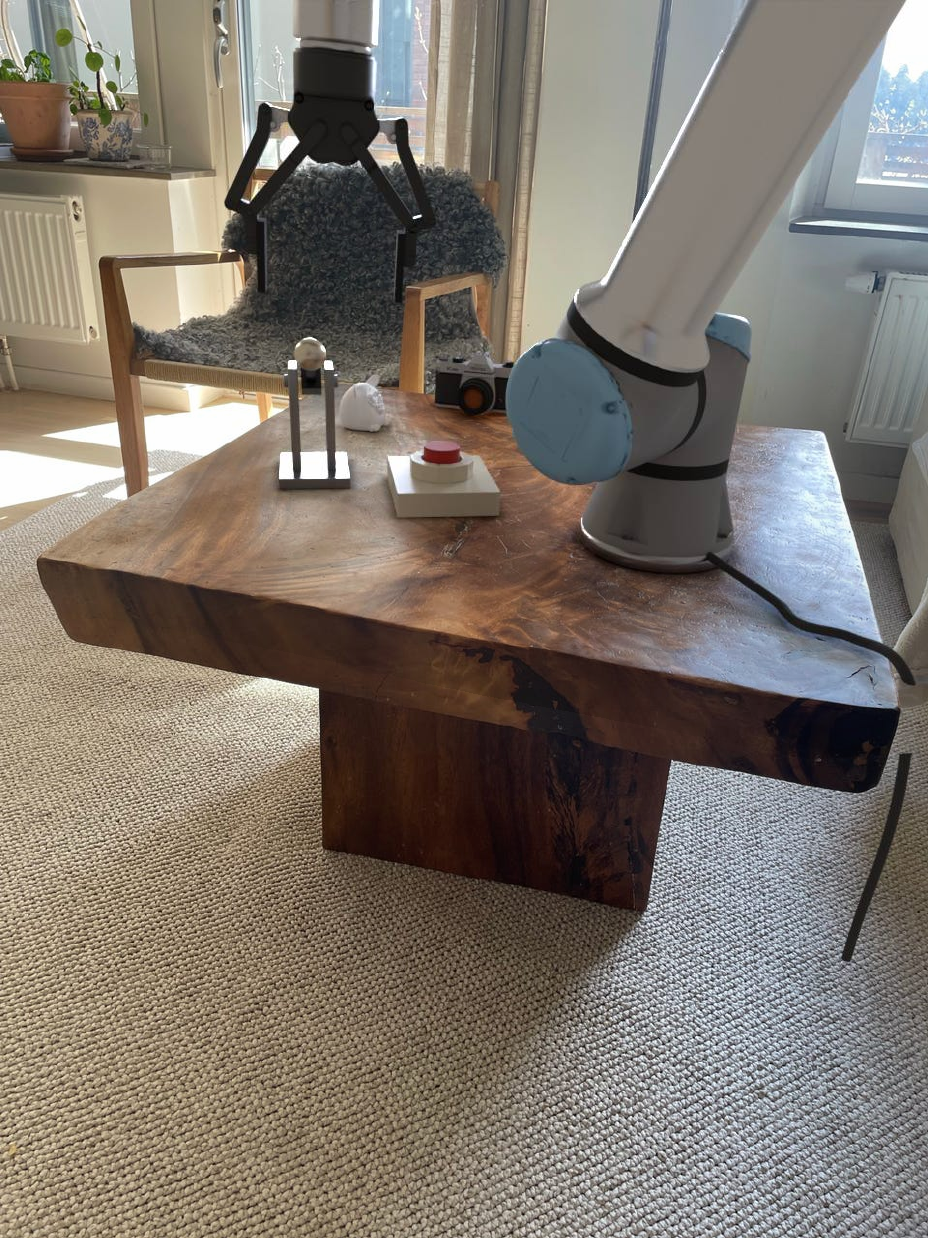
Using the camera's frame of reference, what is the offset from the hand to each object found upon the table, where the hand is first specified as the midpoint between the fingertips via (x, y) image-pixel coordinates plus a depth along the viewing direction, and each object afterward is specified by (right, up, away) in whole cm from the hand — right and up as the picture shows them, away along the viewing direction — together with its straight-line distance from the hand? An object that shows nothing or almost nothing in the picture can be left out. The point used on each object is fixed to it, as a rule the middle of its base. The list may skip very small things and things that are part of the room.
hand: (330, 295), depth 90 cm
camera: (+15, -2, +44) cm, 47 cm away
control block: (+11, -19, +10) cm, 24 cm away
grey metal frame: (-4, -16, +15) cm, 22 cm away
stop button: (+11, -15, +8) cm, 21 cm away
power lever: (-3, -8, +5) cm, 9 cm away
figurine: (-1, -6, +34) cm, 35 cm away
